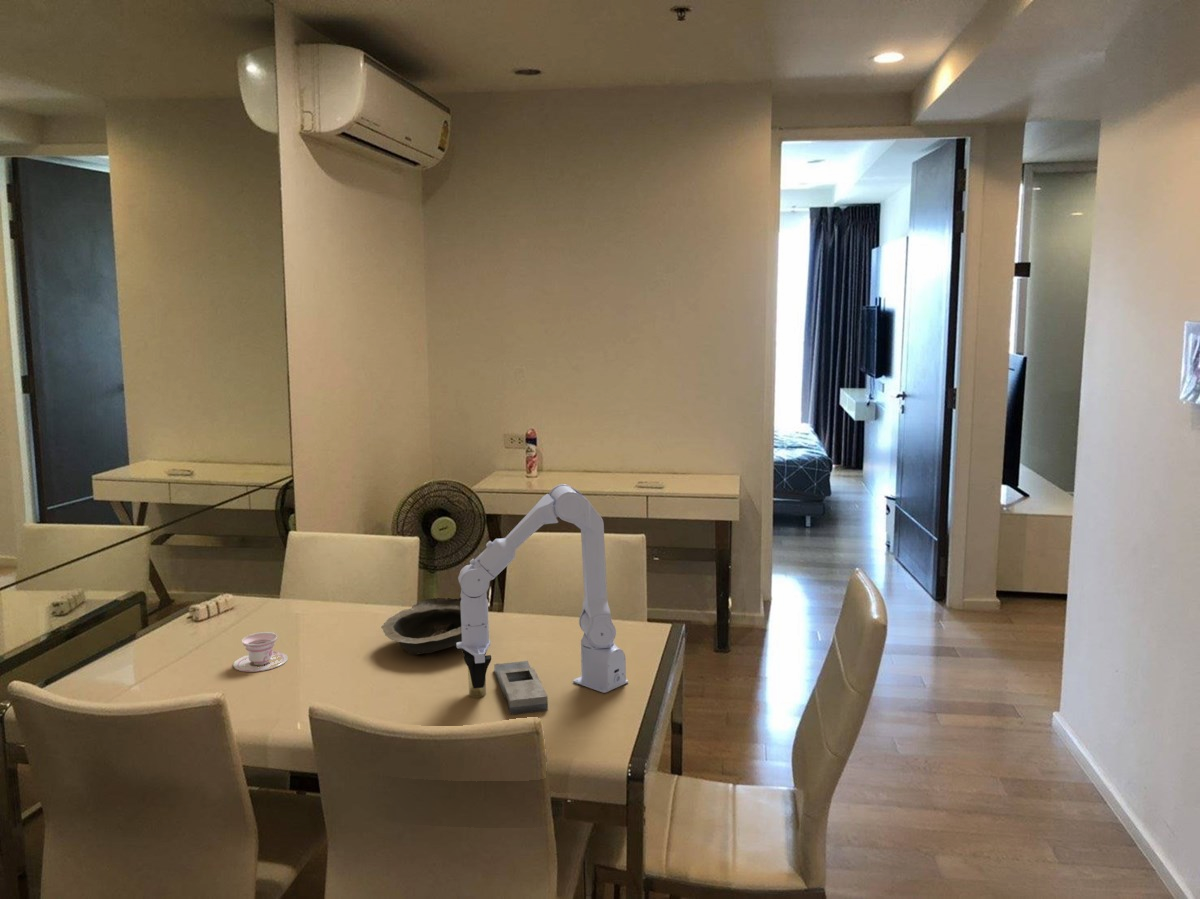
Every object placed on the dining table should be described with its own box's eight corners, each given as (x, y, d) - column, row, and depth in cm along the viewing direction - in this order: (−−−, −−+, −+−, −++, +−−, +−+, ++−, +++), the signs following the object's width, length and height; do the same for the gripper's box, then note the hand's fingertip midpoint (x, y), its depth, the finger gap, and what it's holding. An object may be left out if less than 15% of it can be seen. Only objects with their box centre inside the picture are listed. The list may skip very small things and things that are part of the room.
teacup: (270, 674, 209) (268, 648, 208) (222, 671, 212) (220, 645, 211) (297, 655, 221) (295, 630, 220) (251, 652, 223) (250, 627, 222)
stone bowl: (495, 628, 237) (494, 594, 234) (472, 673, 212) (471, 635, 210) (401, 625, 239) (399, 591, 237) (368, 669, 215) (365, 632, 213)
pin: (489, 694, 196) (488, 658, 195) (476, 699, 194) (475, 663, 193) (478, 689, 199) (477, 654, 198) (465, 694, 196) (464, 658, 195)
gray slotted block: (494, 670, 209) (494, 658, 209) (527, 667, 211) (527, 654, 210) (510, 714, 186) (510, 700, 186) (547, 710, 188) (547, 696, 187)
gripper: (452, 613, 200) (454, 672, 202) (459, 635, 186) (461, 699, 188) (485, 609, 202) (487, 669, 204) (494, 631, 188) (496, 695, 190)
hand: (477, 683), depth 196 cm, fingers open, 4 cm apart
